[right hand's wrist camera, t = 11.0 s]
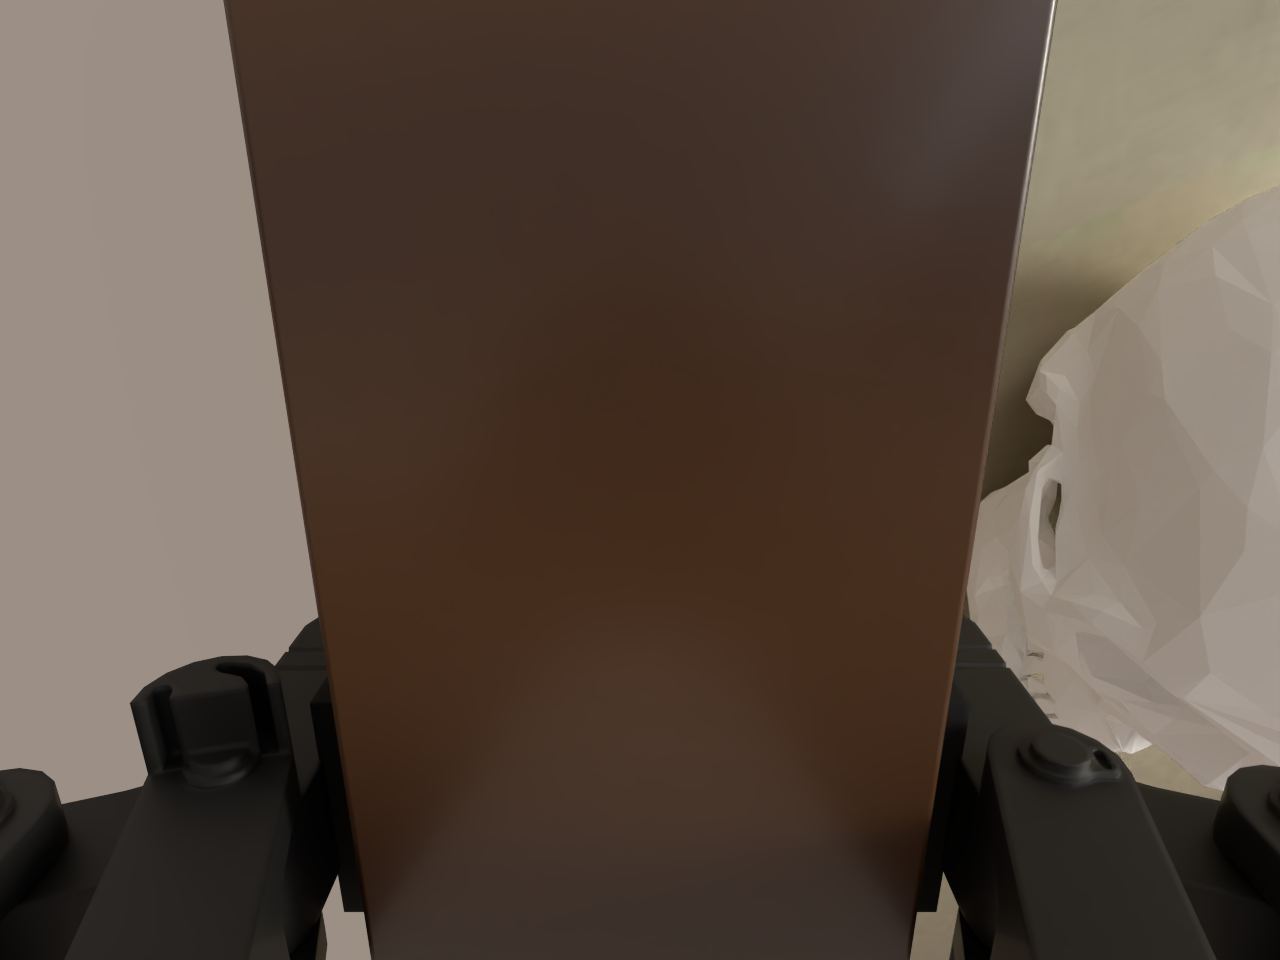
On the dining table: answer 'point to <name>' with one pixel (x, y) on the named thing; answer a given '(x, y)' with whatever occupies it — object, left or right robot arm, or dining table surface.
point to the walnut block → (640, 445)
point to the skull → (1154, 512)
